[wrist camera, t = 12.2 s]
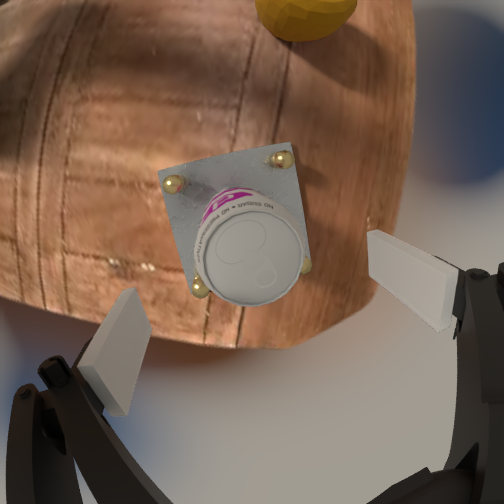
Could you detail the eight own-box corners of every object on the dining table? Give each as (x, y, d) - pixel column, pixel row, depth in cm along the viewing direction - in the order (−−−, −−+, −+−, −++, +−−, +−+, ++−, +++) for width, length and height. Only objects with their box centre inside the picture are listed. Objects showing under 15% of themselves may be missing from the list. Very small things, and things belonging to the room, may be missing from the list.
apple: (327, 63, 29) (375, 25, 17) (245, 51, 28) (260, -2, 16) (326, 5, 26) (363, -41, 14) (251, -8, 25) (265, -65, 12)
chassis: (191, 291, 36) (188, 309, 31) (159, 170, 31) (149, 171, 26) (309, 263, 37) (322, 277, 32) (288, 142, 32) (299, 138, 27)
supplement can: (189, 212, 32) (167, 248, 18) (247, 172, 32) (272, 175, 17) (229, 265, 35) (237, 332, 20) (284, 228, 34) (331, 271, 20)
